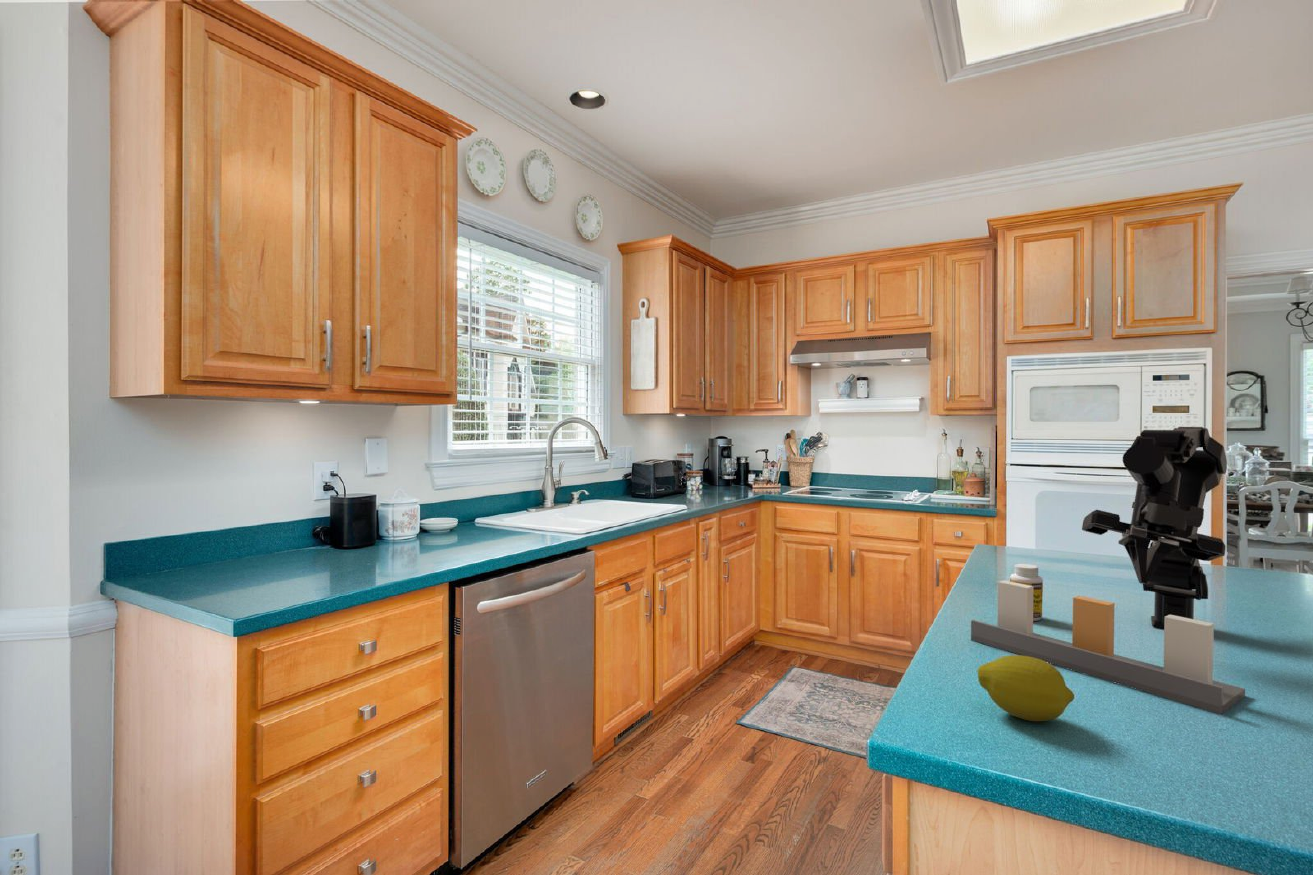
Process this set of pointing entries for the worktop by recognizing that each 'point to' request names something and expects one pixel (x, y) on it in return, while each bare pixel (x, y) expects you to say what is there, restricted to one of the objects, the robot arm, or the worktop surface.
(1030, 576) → the supplement bottle
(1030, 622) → the key
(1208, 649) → the key
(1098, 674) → the long grey base rail
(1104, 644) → the key middle
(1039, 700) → the lemon
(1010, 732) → the worktop surface
